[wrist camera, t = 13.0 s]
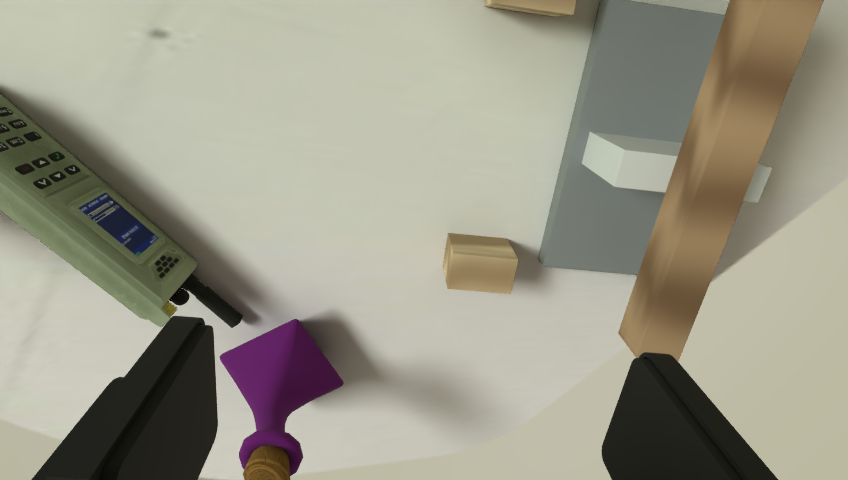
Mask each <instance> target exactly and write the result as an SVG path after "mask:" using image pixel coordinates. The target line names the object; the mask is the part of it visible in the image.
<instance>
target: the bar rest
mask: <svg viewBox="0 0 848 480" xmlns="http://www.w3.org/2000/svg"><path fill="white" fill-rule="evenodd" d="M576 1H577V0H485V4H484V6H486V7H493V8H500V9H507V10H514V11H520V12H527V13H534V14H541V15H548V16H565V15H573V14H574V10H575V5H576ZM517 264H518V258H517V256H516V254H515V252H514V250H513V249H512V247H511V245H510V243H509V241H508V239H503V238H493V237H483V236H472V235H462V234H452V233H448V237H447V244H446V250H445V256H444V263H443V268H444V273H445V278H446V283H447V288H448V289H458V290H469V291H481V292H492V293H504V294H511V290H512V286H513V282H514V277H515V273H516V268H517Z"/></svg>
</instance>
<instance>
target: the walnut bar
mask: <svg viewBox="0 0 848 480" xmlns="http://www.w3.org/2000/svg"><path fill="white" fill-rule="evenodd" d="M823 1H824V0H730V2H729V5H728V8H727V11H726V14H725V17H724V20H723V23H722V26H721V29H720V32H719V35H718V38H717V41H716V44H715V47H714V50H713V53H712V55H711V58H710V61H709V64H708V67H707V70H706V73H705V76H704V79H703V82H702V85H701V88H700V91H699V94H698V97H697V100H696V103H695V106H694V109H693V112H692V115H691V118H690V121H689V124H688V127H687V130H686V133H685V136H684V139H683V142H682V145H681V148H680V151H679V154H678V157H677V160H676V163H675V166H674V169H673V172H672V175H671V178H670V181H669V184H668V186H667V189H666V192H665V195H664V198H663V201H662V204H661V207H660V210H659V213H658V216H657V219H656V222H655V225H654V228H653V231H652V234H651V237H650V240H649V243H648V246H647V249H646V252H645V255H644V258H643V261H642V264H641V267H640V270H639V273H638V276H637V279H636V282H635V285H634V288H633V291H632V294H631V297H630V300H629V303H628V306H627V309H626V312H625V315H624V317H623V320H622V323H621V326H620V329H619V332H618V333H619V335H620V336H621V337H622V339H623V340H624V342H625V343H626V344H627V346H628V347H629V348H630V350H631V351H632V352H633V354H634V355H635V357H636V358H639V356H640V355H641V354H642V353H645V352H650V353H663V354H670V355H672V356H673V357H674V358H675V359H676V360H677V361H679V358H680V356H681V353H682V351H683V348H684V346H685V343H686V341H687V338H688V336H689V333H690V331H691V328H692V326H693V324H694V321H695V318H696V316H697V314H698V311H699V309H700V306H701V304H702V301H703V299H704V296H705V294H706V291H707V289H708V286H709V284H710V281H711V279H712V276H713V274H714V271H715V269H716V266H717V264H718V262H719V259H720V257H721V254H722V252H723V249H724V247H725V244H726V242H727V239H728V237H729V234H730V232H731V229H732V227H733V224H734V222H735V219H736V217H737V214H738V212H739V209H740V207H741V204H742V202H743V199H744V197H745V195H746V192H747V190H748V187H749V185H750V182H751V180H752V177H753V175H754V172H755V170H756V167H757V165H758V162H759V160H760V157H761V155H762V152H763V150H764V147H765V145H766V142H767V140H768V137H769V135H770V133H771V130H772V128H773V125H774V123H775V120H776V118H777V115H778V113H779V110H780V108H781V105H782V103H783V100H784V98H785V95H786V93H787V90H788V88H789V85H790V83H791V80H792V78H793V75H794V73H795V70H796V68H797V66H798V63H799V61H800V58H801V56H802V53H803V51H804V48H805V46H806V43H807V41H808V38H809V36H810V33H811V31H812V28H813V26H814V23H815V21H816V18H817V16H818V13H819V11H820V8H821V6H822V4H823Z"/></svg>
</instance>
